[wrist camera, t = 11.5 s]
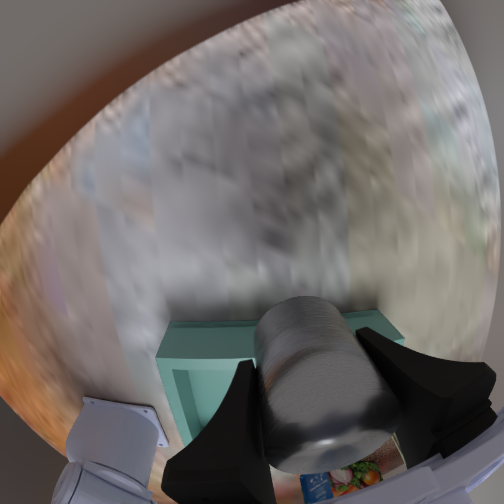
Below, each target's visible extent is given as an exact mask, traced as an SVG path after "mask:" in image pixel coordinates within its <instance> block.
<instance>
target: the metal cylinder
mask: <svg viewBox="0 0 504 504" xmlns="http://www.w3.org/2000/svg"><path fill="white" fill-rule="evenodd" d="M253 345H254V356H255V366H256V376H257V386H258V396H259V406H260V416H261V426H262V436H263V445H264V455H265V458H266V460H267V462H268V463H269V464H270V465H271V466H273V467H274V468H276V469H278V470H280V471H283V472H287V473H293V474H316V473H323V472H328V471H332V470H336V469H339V468H342V467H345V466H348V465H350V464H353V463H355V462H357V461H359V460H361V459H363V458H365V457H366V456H368V455H370V454H371V453H373V452H374V451H376V450H377V449H378V448H380V447H381V446H382V445H383V444H384V443H385V442H386V441H387V440H388V439H389V438H390V437H391V436H392V435H393V434H394V432H395V431H396V430H397V428H398V426H399V424H400V422H401V419H402V415H403V410H402V406H401V404H400V402H399V401H398V399H397V397H396V396H395V394H394V393H393V391H392V390H391V388H390V387H389V385H388V383H387V382H386V380H385V379H384V377H383V376H382V374H381V373H380V371H379V370H378V368H377V367H376V365H375V364H374V362H373V361H372V359H371V358H370V356H369V355H368V353H367V352H366V350H365V349H364V347H363V346H362V344H361V343H360V341H359V340H358V338H357V337H356V335H355V334H354V332H353V331H352V330H351V328H350V327H349V325H348V324H347V322H346V321H345V319H344V318H343V317H342V315H341V314H340V312H339V311H338V310H337V308H336V307H335V306H334V305H333V304H331V303H330V302H328V301H326V300H324V299H321V298H318V297H313V296H299V297H294V298H290V299H287V300H284V301H282V302H280V303H278V304H276V305H275V306H273V307H272V308H271V309H269V310H268V311H267V312H266V313H265V314H264V315H263V316H262V318H261V319H260V321H259V322H258V324H257V326H256V328H255V331H254V337H253Z"/></svg>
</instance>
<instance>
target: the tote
mask: <svg viewBox="0 0 504 504" xmlns="http://www.w3.org/2000/svg"><path fill="white" fill-rule="evenodd" d="M341 315H342V317H343V318H344V319H345V321H346V322H347V324H348V325H349V327H350V328H351V330H352V331H353V332H354V334H355V330H357V329H360V328H363V327H366V326H367V327H369V328H371V329H372V330H374V331H376V332H378V333H379V334H381V335H383V336H385V337H386V338H388V339H390V340H392V341H394V342H396V343H398V344H400V345H402V346H403V343H404V340H405V338H404V337H403V336H402V335H401V334H400V332H399V331H398V330H397V329H396V328H395V327H394V326H393V325H392V324H391V323H390V322H389V320H388V319H387V318H386V317H385V316H384V315H383V314H382V313H381V312H380V311H379V310H378V309H375V310H368V311H359V312H351V313H342V314H341ZM259 321H260V320H245V321H209V322H170V323H169V326H168V328H167V331H166V333H165V335H164V338H163V340H162V343H161V345H160V347H159V350H158V352H157V355H156V357H155V358H156V362H157V366H158V369H159V373H160V376H161V380H162V383H163V386H164V390H165V393H166V396H167V399H168V402H169V405H170V408H171V411H172V414H173V417H174V420H175V423H176V425H177V428H178V431H179V433H180V436H181V439H182V441H183V444H184V446H185V447H186V446H187V445H188V444H189V443H190V442H191V441H192V440H193V439H194V438H195V437H196V436H197V435H198V434H199V433H200V432H201V431H202V430H203V428H204V427H205V426H206V425H207V423H208V422H209V421H210V419H211V418H212V417H213V415H214V414H215V412H216V411H217V409H218V407H219V406H220V404H221V402H222V400H223V398H224V397H225V395H226V393H227V391H228V388H229V386H230V384H231V382H232V379H233V377H234V374H235V371H236V368H237V365H238V363H239V362H240V361H244V360H248V359H252V360H253V363H254V366H255V356H254V345H253V337H254V331H255V328H256V326H257V324H258V322H259ZM355 335H356V334H355ZM255 369H256V366H255Z"/></svg>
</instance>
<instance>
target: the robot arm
mask: <svg viewBox="0 0 504 504" xmlns="http://www.w3.org/2000/svg"><path fill="white" fill-rule="evenodd" d="M355 334H356V337H357V338H358V340H359V341H360V343H361V344H362V346H363V347H364V349H365V350H366V352H367V353H368V355H369V356H370V358H371V359H372V361H373V362H374V364H375V365H376V367H377V368H378V370H379V371H380V373H381V374H382V376H383V377H384V379H385V380H386V382H387V383H388V385H389V387H390V388H391V390H392V391H393V393H394V394H395V396H396V397H397V399H398V401H399V402H400V404H401V406H402V410H403V415H402V419H401V422H400V424H399V426H398V428H397V430H396V431H395V435H396V437H397V440H398V442H399V445H400V448H401V451H402V454H403V457H404V460H405V463H406V466H407V470H406V471H404V472H402V473H400V474H397V475H396V476H393V477H391V478H388V479H386V480H384V481H381V482H379V483H376V484H374V485H371V486H369V487H366V488H363V489H360V490H357V491H354V492H351V493H348V494H345V495H342V496H339V497H335V498H332V499H328V500H324V501H320V502H316V503H312V504H473V503H472V501H471V499H470V497H469V495H468V494H467V493H468V492H470V491H471V490H472V489H474V488H475V487H476V486H477V485H479V484H480V483H481V482H482V481H484V480H485V479H486V478H487V477H488V476H490V475H491V474H492V473H493V472H494V471H496V470H497V469H498V468H499V467H500V466H501V465H502V464H503V463H504V406H503V407H502V408H501V409H500V410H499V411H498V412H496V413H495V412H494V411H493V410H492V408H491V407H490V406H491V404H492V402H491V401H490V400H489V399H488V398H489V396H490V393H491V391H492V389H493V387H494V384H495V381H496V373H495V372H494V371H493V370H492V369H491V368H490V367H489V366H488V365H487V364H486V363H484V362H458V361H450V360H445V359H440V358H435V357H432V356H428V355H425V354H422V353H419V352H416V351H414V350H411V349H409V348H407V347H404V346H402V345H400V344H398V343H396V342H394V341H392V340H390V339H388V338H386V337H385V336H383V335H381V334H379V333H378V332H376V331H374V330H372V329H371V328H369V327H367V326H366V327H363V328H360V329H357V330H355ZM82 400H83V402H84V406H83V408H82V409H81V411H80V413H79V415H78V417H77V419H76V421H75V423H74V425H73V426H72V428H71V430H70V432H69V434H68V437H67V441H66V454H67V457H68V460H69V462H70V463H68V464H67V465H66V467H65V468H64V470H63V472H62V474H61V476H60V478H59V480H58V482H57V485H56V487H55V490H54V494H53V499H52V502H51V504H157V502H156V501H155V500H153V499H151V498H152V493H153V492H152V491H149V490H147V488H148V483H149V478H150V474H151V469H152V465H153V460H154V456H155V452H156V448H157V446H160V447H168V446H169V443H168V440H167V438H166V436H165V434H164V431H163V429H162V427H161V424H160V422H159V420H158V417H157V415H156V412H155V410H154V409H153V408H151V407H145V406H137V405H130V404H123V403H117V402H111V401H105V400H100V399H95V398H90V397H85V396H84V397H83V399H82ZM161 489H162V491H163V492H164V493H165V494H166V495H167V496H169V497H170V498H171V499H173V500H174V501H176V502H177V503H178V504H277V503H276V499H275V494H274V488H273V483H272V478H271V472H270V466H269V463H268V462H267V460H266V458H265V455H264V445H263V436H262V426H261V416H260V406H259V396H258V386H257V376H256V369H255V366H254V363H253V360H252V359H248V360H244V361H240V362H239V363H238V365H237V368H236V371H235V374H234V377H233V379H232V382H231V384H230V386H229V388H228V391H227V393H226V395H225V397H224V398H223V400H222V402H221V404H220V406H219V407H218V409H217V411H216V412H215V414H214V415H213V417H212V418H211V419H210V421H209V422H208V423H207V425H206V426H205V427H204V428H203V430H202V431H201V432H200V433H199V434H198V435H197V436H196V437H195V438H194V439H193V440H192V441H191V442H190V443H189V444H188V445H187V446H186V447H185V448H184V449H182V450H181V451H180V452H179V453H177V454H176V455H175V456H173V457H172V458H171V459H169V460H168V461H167V463H166V466H165V469H164V473H163V478H162V483H161Z"/></svg>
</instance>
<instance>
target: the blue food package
mask: <svg viewBox="0 0 504 504" xmlns="http://www.w3.org/2000/svg"><path fill="white" fill-rule="evenodd" d="M381 481H384V480H383V478H382V476H381V473H380V471H379V468H378V466H377V464H376V463H369V462H355V463H353V464H350V465H348V466H345V467H342V468H339V469H336V470H332V471H328V472H323V473H316V474H303V475H302V476H301V477H300V482H301V487H302V493H303V498H304V503H305V504H312V503H316V502H320V501H324V500H328V499H332V498H335V497H339V496H342V495H345V494H348V493H351V492H354V491H357V490H360V489H363V488H366V487H369V486H371V485H374V484H376V483H379V482H381Z"/></svg>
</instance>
